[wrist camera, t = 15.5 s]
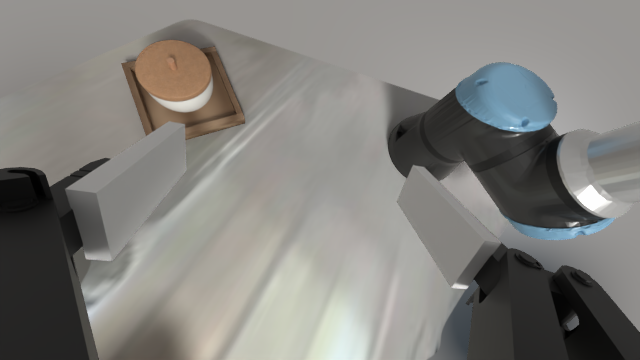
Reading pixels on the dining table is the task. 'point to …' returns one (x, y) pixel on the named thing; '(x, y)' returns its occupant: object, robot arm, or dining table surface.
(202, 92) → the lidded jar
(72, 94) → the dining table surface
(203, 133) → the walnut tray
